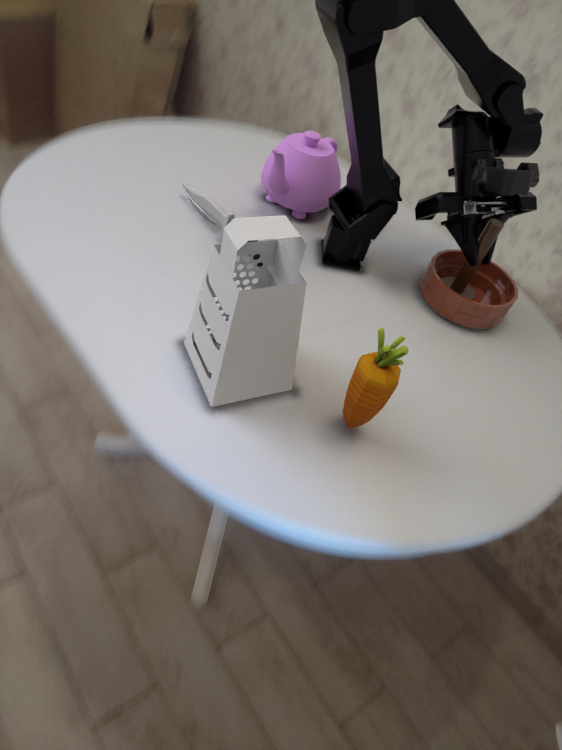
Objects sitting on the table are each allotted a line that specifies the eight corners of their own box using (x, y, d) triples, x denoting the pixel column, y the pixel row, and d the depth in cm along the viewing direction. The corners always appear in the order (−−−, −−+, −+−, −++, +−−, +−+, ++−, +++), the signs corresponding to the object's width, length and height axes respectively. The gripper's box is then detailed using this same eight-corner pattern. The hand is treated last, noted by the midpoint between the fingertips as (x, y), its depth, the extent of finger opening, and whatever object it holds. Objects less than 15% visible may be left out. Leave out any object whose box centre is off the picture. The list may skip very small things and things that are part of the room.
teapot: (290, 241, 85) (308, 169, 76) (227, 200, 89) (237, 128, 80) (353, 205, 97) (375, 140, 88) (295, 171, 101) (311, 106, 92)
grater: (183, 343, 65) (198, 199, 50) (259, 331, 69) (293, 195, 54) (211, 407, 59) (236, 266, 44) (291, 389, 63) (338, 256, 49)
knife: (175, 193, 87) (177, 165, 83) (184, 192, 88) (187, 164, 84) (259, 281, 76) (265, 253, 72) (268, 278, 77) (275, 251, 73)
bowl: (426, 323, 78) (440, 298, 74) (412, 267, 87) (424, 242, 84) (511, 338, 80) (529, 314, 76) (488, 281, 89) (503, 258, 86)
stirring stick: (441, 301, 80) (482, 230, 70) (433, 278, 84) (472, 207, 74) (476, 308, 81) (522, 238, 71) (467, 284, 85) (509, 215, 75)
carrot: (326, 409, 62) (367, 318, 51) (364, 411, 63) (412, 323, 52) (332, 443, 59) (377, 354, 48) (372, 445, 60) (425, 359, 49)
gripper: (465, 134, 64) (473, 260, 66) (568, 140, 71) (572, 254, 73) (408, 162, 74) (416, 271, 76) (503, 165, 81) (508, 264, 83)
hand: (480, 265), depth 77 cm, fingers closed on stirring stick, 2 cm apart
